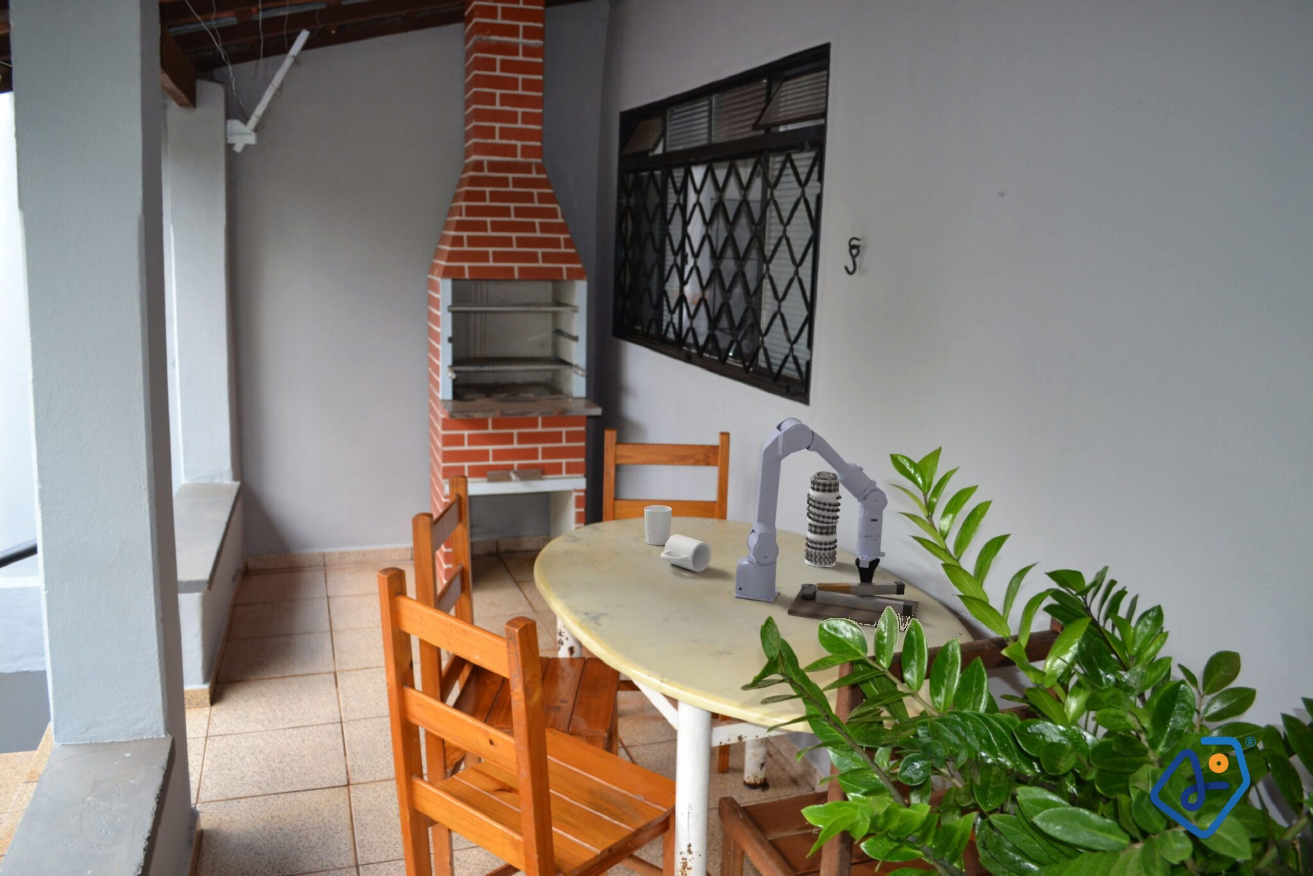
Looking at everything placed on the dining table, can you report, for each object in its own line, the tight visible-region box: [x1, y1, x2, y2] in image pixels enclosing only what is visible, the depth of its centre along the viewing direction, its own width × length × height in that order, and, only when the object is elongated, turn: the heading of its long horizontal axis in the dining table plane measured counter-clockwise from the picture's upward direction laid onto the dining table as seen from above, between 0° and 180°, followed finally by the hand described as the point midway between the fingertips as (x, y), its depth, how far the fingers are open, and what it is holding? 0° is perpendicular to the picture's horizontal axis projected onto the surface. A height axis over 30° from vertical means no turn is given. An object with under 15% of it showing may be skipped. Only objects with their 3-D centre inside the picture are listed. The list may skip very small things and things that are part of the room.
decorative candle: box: [804, 470, 842, 567], centre depth 263 cm, size 9×9×25 cm
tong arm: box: [800, 581, 906, 600], centre depth 235 cm, size 26×4×3 cm, turn 99°
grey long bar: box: [816, 590, 913, 616], centre depth 228 cm, size 22×2×2 cm, turn 71°
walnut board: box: [787, 589, 920, 632], centre depth 230 cm, size 28×18×1 cm, turn 71°
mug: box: [660, 533, 712, 573], centre depth 257 cm, size 12×10×8 cm
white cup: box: [644, 504, 673, 546], centre depth 279 cm, size 8×8×10 cm
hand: (865, 587), depth 240 cm, fingers closed
